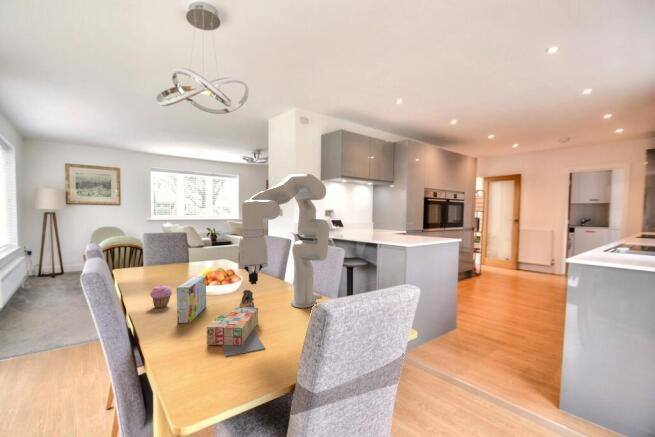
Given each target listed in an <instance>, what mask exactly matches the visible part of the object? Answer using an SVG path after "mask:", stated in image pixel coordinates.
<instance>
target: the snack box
mask: <svg viewBox="0 0 655 437" xmlns="http://www.w3.org/2000/svg"><path fill="white" fill-rule="evenodd" d="M206 278H207V277H206V275H195V276H193V277H191V278H190V279H189V280H187V281H185V282H183V283H182V284H180V285H179V286H177V287H176V315H177V317H176V318H177V320H176V321H177V322H176V323H177V324H190V323H192V321H194V320H195V318H196V317H197V316H198V315H199V314H200V313H202V312H203V310H204V309H205V308H207V286H206V285H207V282H206Z"/></svg>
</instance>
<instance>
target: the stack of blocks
mask: <svg viewBox="0 0 655 437" xmlns="http://www.w3.org/2000/svg"><path fill="white" fill-rule="evenodd" d="M258 323H259V307H255V308H246V307H244V308H239V307H235V308H234V309H233V310H231V312H230V313H229V314H219V316H217V317H216V318H215V319H214V320H212V321H211V322H210V323H209V324H208V325H207V326H206V345H208V346H210V345H211V346H222V345H233V346H242V345H243V343H244V342H245V340H246V339H247V337H248V336H249V334H250V333H251V332H252V330H253V329H254V330H255V328H256V326H257V324H258Z"/></svg>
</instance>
